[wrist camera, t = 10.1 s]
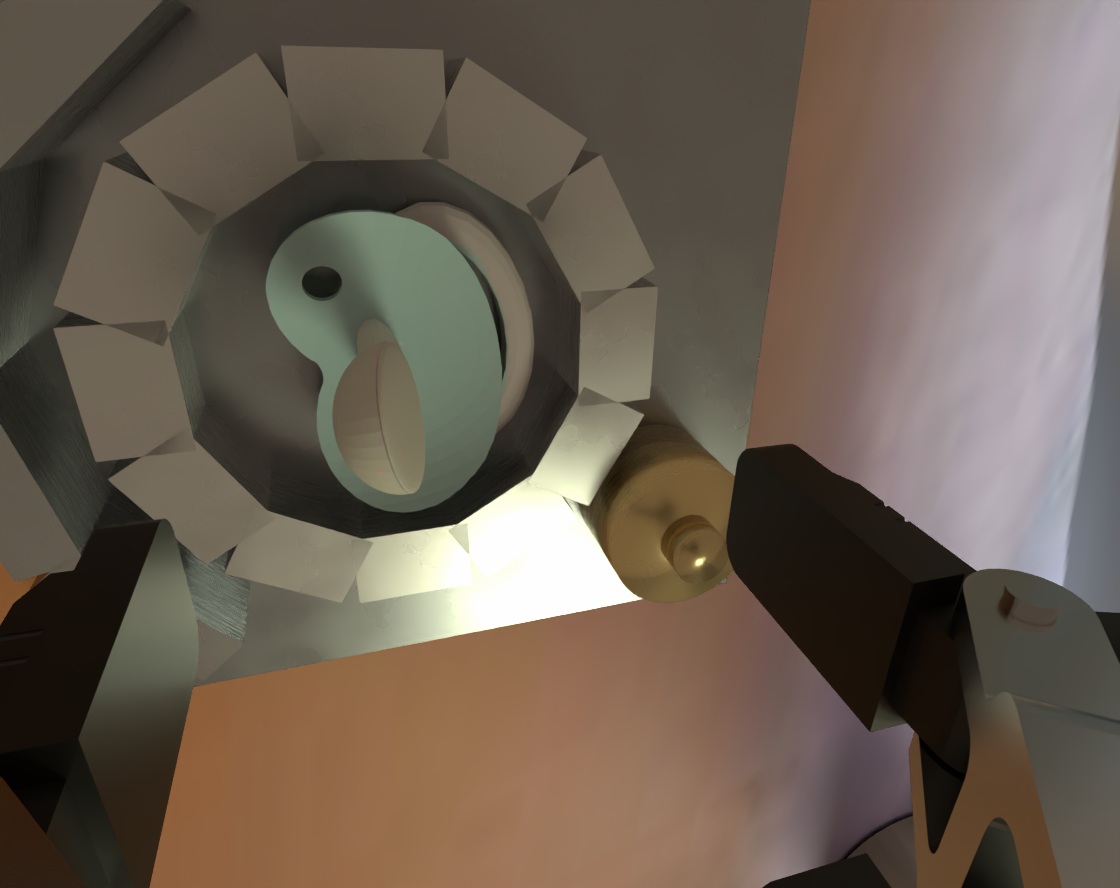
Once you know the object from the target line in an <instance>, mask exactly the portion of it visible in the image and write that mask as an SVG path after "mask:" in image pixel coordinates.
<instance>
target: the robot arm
mask: <svg viewBox="0 0 1120 888" xmlns="http://www.w3.org/2000/svg"><path fill="white" fill-rule="evenodd" d="M726 545H727V552H728V556H729V560H730V563H731V565H732V567H733V569H734V571H735V573H736V574H737V575H738V577H739V578H740V579H741V580H742V581H743V583H744V584H745V585H746V586H747V587H748V589H749V590H750V591H751V592H752V593H753V594H754V596H755V597H756V598H757V599H758V600H759V602H760V603H761V604H762V605H763V606H764V607H765V609H766V610H767V611H768V612H769V613H770V615H771V616H772V617H773V618H774V619H775V620H776V622H777V623H778V624H779V625H780V626H781V628H782V629H783V630H784V631H785V632H786V633H787V635H788V636H789V637H790V638H791V639H792V641H793V642H794V643H795V644H796V645H797V646H798V648H799V649H800V650H801V651H802V652H803V654H804V655H805V656H806V657H807V658H808V659H809V661H810V662H811V663H812V664H813V665H814V666H815V668H816V669H817V670H818V671H819V672H820V674H821V675H822V676H823V677H824V678H825V679H826V681H827V682H828V683H829V684H830V685H831V687H832V688H833V689H834V690H835V691H836V692H837V694H838V695H839V696H840V697H841V698H842V700H843V701H844V702H845V703H846V704H847V705H848V707H849V708H850V709H851V710H852V711H853V713H854V714H855V715H856V716H857V717H858V718H859V720H860V721H861V722H862V723H863V724H864V726H865V727H866V728H867V729H868V730H869V731H870V732H873V731H877V730H881V729H885V728H889V727H893V726H897V725H901V724H905V723H907V724H908V725H909V726H910V727H911V728H912V729H913V730H914V731H915V732H914V735H913V738H912V741H911V744H910V747H909V765H910V779H911V794H912V808H913V816H911V817H908V818H905V819H903V820H901V821H898V822H896V823H894V824H892V825H890V826H888V827H886V828H885V829H883V830H881V831H880V832H878V833H876V834H875V835H873V836H872V837H871V838H869V839H868V840H867V841H865V842H864V843H863V844H861V845H860V846H859V847H858V848H857V849H856V850H855V851H854V852H853V853H852V854H850V855H849V856H848V858H847V859H844V860H841V861H838V862H835V863H831V864H828V865H825V866H821V867H818V868H815V869H811V870H808V871H805V872H802V873H798V874H795V875H792V876H788V877H785V878H782V879H778V880H775V881H772V882H770V883H768V884H767V885H765V886H764V887H763V888H1120V613H1109V612H1094V610H1093V609H1092V608H1091V607H1090V606H1089V605H1088V604H1087V603H1086V602H1084V601H1083V600H1082V599H1081V598H1079V597H1078V596H1077V595H1075V594H1074V593H1072V592H1071V591H1069V590H1067V589H1065V588H1064V587H1062V586H1060V585H1058V584H1056V583H1054V582H1051V581H1049V580H1046V579H1044V578H1041V577H1038V576H1035V575H1032V574H1028V573H1024V572H1020V571H1014V570H1008V569H985V570H980V571H976V570H974V569H973V568H972V567H970V566H969V565H968V564H966V563H965V562H964V561H962V560H961V559H960V558H958V557H957V556H956V555H954V554H953V553H952V552H950V551H949V550H947V549H946V548H945V547H943V546H942V545H941V544H939V543H938V542H937V541H935V540H934V539H933V538H931V537H930V536H929V535H927V534H926V533H925V532H923V531H922V530H920V529H919V528H918V527H916V526H915V525H914V524H912V523H911V522H905V520H904V517H903V516H902V515H900V514H899V513H898V512H896V511H895V510H894V509H892V508H891V507H889V506H887V507H885V506H884V502H883V501H881V500H880V499H879V498H877V497H876V496H875V495H873V494H872V493H871V492H869V491H868V490H867V489H865V488H864V487H863V486H861V485H860V484H858V483H855V482H853V481H851V480H849V479H846V478H844V477H842V476H839V475H837V474H835V473H832V472H831V471H830V470H828V469H827V468H826V467H824V466H823V465H822V464H820V463H819V462H818V461H816V460H815V459H814V458H812V457H811V456H810V455H808V454H807V453H806V452H805V451H803V450H802V449H801V448H799V447H798V446H796V445H794V444H783V445H775V446H767V447H758V448H750V449H746V450H744V451H743V452H742V453H741V454H740V456H739V458H738V461H737V465H736V472H735V478H734V485H733V492H732V499H731V506H730V513H729V520H728V527H727V534H726ZM198 659H199V634H198V625H197V619H196V615H195V611H194V607H193V603H192V599H191V595H190V591H189V587H188V583H187V579H186V576H185V572H184V568H183V564H182V560H181V556H180V552H179V548H178V544H177V540H176V537H175V533H174V530H173V528H172V526H171V524H170V522H169V521H168V520H167V519H157V520H149V521H140V522H132V523H124V524H116V525H108V526H100V527H98V528H96V529H95V531H94V532H93V534H92V536H91V538H90V540H89V542H88V544H87V546H86V548H85V549H84V551H83V553H82V555H81V557H80V559H79V561H78V563H77V565H76V567H75V569H74V570H72V571H65V572H57V573H50V574H49V575H48V576H47V577H45V578H44V579H43V580H42V581H40V582H39V583H38V584H37V585H36V586H34V587H33V588H32V589H31V590H29V591H28V592H27V593H26V594H25V595H23V596H22V597H21V598H20V599H18V600H17V601H16V602H15V603H14V604H13V605H12V607H11V609H10V610H9V612H8V614H7V615H6V617H5V619H4V620H3V622H2V624H1V625H0V888H149V887H150V882H151V877H152V873H153V868H154V864H155V859H156V855H157V850H158V845H159V841H160V836H161V832H162V827H163V822H164V818H165V813H166V809H167V804H168V800H169V795H170V790H171V786H172V781H173V777H174V772H175V767H176V763H177V758H178V754H179V749H180V745H181V740H182V735H183V731H184V726H185V722H186V717H187V712H188V708H189V703H190V699H191V694H192V690H193V685H194V680H195V676H196V671H197V666H198Z"/></svg>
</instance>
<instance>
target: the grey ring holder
mask: <svg viewBox="0 0 1120 888" xmlns="http://www.w3.org/2000/svg"><path fill="white" fill-rule="evenodd" d="M810 3H811V0H0V561H1V563H2V564H3V566H4V567H5V568H6V570H7V571H8V573H9V574H10V576H11V577H12V579H13V580H14V582H16V581H20V580H23V579H27V578H30V577H34V576H37V575H38V576H37V578H36V579H35V581H34V583H33V585H32V587H31V589H32V588H33V587H34V586H36V585H37V584H38V583H39V582H40V581H42V580H43V579H44V578H45V577H47V576H48V575H49V574H50V573H57V572H65V571H72V570H74V569H75V567H76V565H77V563H78V561H79V559H80V557H81V555H82V553H83V551H84V549H85V548H86V546H87V544H88V542H89V540H90V538H91V536H92V534H93V532H94V531H95V529H96V528H98V527H100V526H108V525H116V524H124V523H132V522H140V521H149V520H157V519H167V520H168V521H169V522H170V524H171V526H172V528H173V530H174V533H175V537H176V540H177V544H178V548H179V552H180V556H181V560H182V564H183V568H184V572H185V576H186V579H187V583H188V587H189V591H190V595H191V599H192V603H193V607H194V611H195V615H196V619H197V625H198V634H199V659H198V666H197V671H196V676H195V680H194V685H193V687H196V686H201V685H206V684H211V683H216V682H221V681H226V680H231V679H236V678H242V677H247V676H252V675H257V674H262V673H267V672H272V671H277V670H282V669H288V668H293V667H298V666H303V665H308V664H313V663H318V662H323V661H328V660H334V659H339V658H344V657H349V656H354V655H359V654H364V653H369V652H374V651H379V650H385V649H390V648H395V647H400V646H405V645H410V644H415V643H420V642H425V641H431V640H436V639H441V638H446V637H451V636H456V635H461V634H466V633H471V632H477V631H482V630H487V629H492V628H497V627H502V626H507V625H512V624H517V623H523V622H528V621H533V620H538V619H543V618H548V617H553V616H558V615H563V614H569V613H574V612H579V611H584V610H589V609H594V608H599V607H604V606H609V605H614V604H620V603H625V602H630V601H635V600H640V599H645V600H649V601H653V602H661V603H668V602H678V601H683V600H686V599H690V598H693V597H695V596H698V595H700V594H702V593H704V592H706V591H708V590H710V589H711V588H713V587H715V586H716V585H717V584H722V583H726V581H727V576H728V575H729V574H730V573H731V572H732V571H733V570H734V569H733V567H732V565H731V563H730V560H729V556H728V552H727V545H726V534H727V527H728V520H729V513H730V506H731V499H732V492H733V485H734V478H735V472H736V465H737V461H738V458H739V456H740V454H741V453H742V452H743V451H744V450H746V444H747V437H748V430H749V423H750V416H751V409H752V402H753V395H754V389H755V382H756V375H757V368H758V361H759V354H760V347H761V340H762V334H763V327H764V320H765V313H766V306H767V299H768V292H769V285H770V278H771V272H772V265H773V258H774V251H775V244H776V237H777V230H778V223H779V217H780V210H781V203H782V196H783V189H784V182H785V175H786V168H787V161H788V155H789V148H790V141H791V134H792V127H793V120H794V113H795V106H796V100H797V93H798V86H799V79H800V72H801V65H802V58H803V51H804V44H805V38H806V31H807V24H808V17H809V10H810ZM419 202H445V203H447V204H450V205H453V206H455V207H458V208H461V209H463V210H466V211H468V212H470V213H471V214H472V215H473V216H475V217H476V218H477V219H478V220H480V221H481V222H482V223H484V224H485V225H486V226H487V227H489V228H490V229H491V230H492V232H493V233H494V234H495V235H496V237H497V238H498V239H499V241H500V242H501V243H502V244H503V246H504V247H505V248H506V250H507V251H508V252H509V254H510V256H511V258H512V260H513V262H514V264H515V266H516V268H517V270H518V272H519V274H520V276H521V278H522V280H523V283H524V286H525V290H526V294H527V297H528V301H529V305H530V308H531V312H532V322H533V332H534V354H533V365H532V373H531V376H530V380H529V383H528V386H527V390H526V393H525V396H524V399H523V400H522V402H521V404H520V406H519V407H518V409H517V411H516V412H515V414H514V416H513V418H512V419H511V420H510V421H509V422H508V423H507V424H506V425H505V426H504V427H503V428H502V429H501V430H500V431H499V432H498V433H497V434H495V437H494V441H493V443H492V445H491V447H490V449H489V452H488V454H487V457H486V459H485V461H484V462H483V463H482V465H481V466H480V467H479V469H478V470H477V471H476V473H475V474H474V475H473V476H472V477H471V478H470V479H469V480H468V481H467V483H466V484H465V485H464V486H463V487H462V488H461V489H460V490H458V491H457V492H456V493H454V494H453V495H452V496H451V497H450V498H448V499H446V500H444V501H443V502H441V503H439V504H437V505H436V506H432V507H429V508H426V509H423V510H420V511H413V512H405V513H402V512H393V511H385V510H382V509H379V508H376V507H373V506H371V505H369V504H367V503H366V502H364V501H362V500H360V499H358V498H357V497H355V496H354V495H353V494H352V493H351V492H350V491H348V490H347V489H346V488H345V487H344V486H343V485H342V484H341V483H340V482H339V480H338V479H337V478H336V476H335V475H334V474H333V472H332V471H331V469H330V467H329V465H328V463H327V461H326V459H325V456H324V454H323V452H322V450H321V445H320V441H319V437H318V433H317V406H318V398H319V394H320V390H321V387H322V385H323V373H322V371H321V368H320V367H319V365H318V364H317V363H316V362H314V361H312V360H310V359H309V358H307V357H306V356H304V355H303V354H302V353H301V352H300V351H299V350H298V349H297V348H296V347H295V346H294V345H292V344H291V343H290V341H289V340H288V339H287V338H286V336H285V335H284V334H283V333H282V331H281V330H280V329H279V327H278V325H277V323H276V321H275V319H274V318H273V316H272V314H271V311H270V307H269V303H268V299H267V294H266V279H267V274H268V270H269V267H270V264H271V261H272V259H273V257H274V255H275V254H276V252H277V250H278V249H279V247H280V245H281V244H282V243H283V242H284V241H285V240H286V239H287V238H288V237H289V236H290V235H291V234H292V233H293V232H294V231H295V230H296V229H298V228H299V227H301V226H303V225H304V224H306V223H308V222H310V221H312V220H314V219H317V218H320V217H322V216H325V215H328V214H332V213H337V212H343V211H348V210H375V211H383V212H390V213H394V214H395V213H396V212H398V211H401V210H403V209H405V208H407V207H410V206H412V205H414V204H416V203H419ZM457 250H458V249H457ZM458 251H459V250H458ZM459 252H460V253H461V254H462V255H463V257H464V258H465V260H466V261H467V263H468V264H469V266H470V267H471V269H472V270H473V272H474V273H475V275H476V277H477V279H478V281H479V283H480V285H481V287H482V289H483V291H484V293H485V296H486V298H487V300H488V303H489V307H490V310H491V313H492V316H493V320H494V324H495V328H496V332H497V336H498V342H499V349H500V356H501V344H502V337H501V329H500V320H499V315H498V312H497V308H496V305H495V302H494V298H493V295H492V293H491V291H490V289H489V287H488V285H487V283H486V281H485V279H484V277H483V275H482V274H481V272H480V271H479V270H478V268H477V267H476V266H475V265H474V263H473V262H472V261H471V259H469V258H468V257H467V256H466V255H464V254H463V253H462V252H461V251H459ZM341 283H342V279H341V277H340V275H339V273H337V272H336V271H335V270H334V269H332V268H330V267H325V266H319V267H314V268H312V269H310V270H309V271H307V272H306V273H305V275H304V276H303V278H302V285H303V287H304V289H305V291H307V292H308V293H309V294H310V295H312V296H315V297H319V298H325V297H329V296H332V295H334V294H335V293H336V292H337V291H338V290H339V288H340V287H341ZM31 589H30V590H31Z"/></svg>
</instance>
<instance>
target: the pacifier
mask: <svg viewBox="0 0 1120 888" xmlns="http://www.w3.org/2000/svg"><path fill="white" fill-rule="evenodd" d="M457 249H458V250H459V251H461V252H462V253H463V254H464V255H466V256H467V257H468V258H469V259H471V261H472V262H473V263H474V265H475V266H476V267H477V268H478V270H479V271H480V272H481V274H482V275H483V277H484V279H485V281H486V283H487V285H488V287H489V289H490V291H491V293H492V295H493V298H494V302H495V305H496V308H497V312H498V315H499V320H500V329H501V337H502V344H501V356H500V349H499V342H498V336H497V332H496V328H495V324H494V320H493V316H492V313H491V310H490V307H489V303H488V300H487V298H486V296H485V293H484V291H483V289H482V287H481V285H480V283H479V281H478V279H477V277H476V275H475V273H474V272H473V270H472V269H471V267H470V266H469V264H468V263H467V261H466V260H465V258H464V257H463V255H462V254H461V253H460V252H459V251H458V250H457ZM319 266H325V267H330V268H332V269H334V270H335V271H336V272H337V273H339V275H340V277H341V279H342V283H341V287H340V288H339V290H338V291H337V292H336V293H335V294H334V295H332V296H329V297H325V298H319V297H315V296H312V295H310V294H309V293H308V292H307V291H305V289H304V287H303V285H302V278H303V276H304V275H305V273H306V272H307V271H309V270H310V269H312V268H314V267H319ZM266 294H267V299H268V303H269V307H270V311H271V314H272V316H273V318H274V319H275V321H276V323H277V325H278V327H279V329H280V330H281V331H282V333H283V334H284V335H285V336H286V338H287V339H288V340H289V341H290V343H291V344H292V345H294V346H295V347H296V348H297V349H298V350H299V351H300V352H301V353H302V354H303V355H304V356H306V357H307V358H309V359H310V360H312V361H314V362H316V363H317V364H318V365H319V367H320V368H321V371H322V373H323V385H322V387H321V390H320V394H319V398H318V406H317V433H318V437H319V441H320V445H321V450H322V452H323V454H324V456H325V459H326V461H327V463H328V465H329V467H330V469H331V471H332V472H333V474H334V475H335V476H336V478H337V479H338V480H339V482H340V483H341V484H342V485H343V486H344V487H345V488H346V489H347V490H348V491H350V492H351V493H352V494H353V495H354V496H355V497H357V498H358V499H360V500H362V501H364V502H366V503H367V504H369V505H371V506H373V507H376V508H379V509H382V510H385V511H393V512H402V513H405V512H413V511H420V510H423V509H426V508H429V507H432V506H436V505H437V504H439V503H441V502H443V501H444V500H446V499H448V498H450V497H451V496H452V495H453V494H454V493H456V492H457V491H458V490H460V489H461V488H462V487H463V486H464V485H465V484H466V483H467V481H468V480H469V479H470V478H471V477H472V476H473V475H474V474H475V473H476V471H477V470H478V469H479V467H480V466H481V465H482V463H483V462H484V461H485V459H486V457H487V454H488V452H489V449H490V447H491V445H492V443H493V441H494V437H495V434H497V433H498V432H499V431H500V430H501V429H502V428H503V427H504V426H505V425H506V424H507V423H508V422H509V421H510V420H511V419H512V418H513V416H514V414H515V412H516V411H517V409H518V407H519V406H520V404H521V402H522V400H523V399H524V396H525V393H526V390H527V386H528V383H529V380H530V376H531V373H532V365H533V354H534V332H533V322H532V312H531V308H530V305H529V301H528V297H527V294H526V290H525V286H524V283H523V280H522V278H521V276H520V274H519V272H518V270H517V268H516V266H515V264H514V262H513V260H512V258H511V256H510V254H509V252H508V251H507V250H506V248H505V247H504V246H503V244H502V243H501V242H500V241H499V239H498V238H497V237H496V235H495V234H494V233H493V232H492V230H491V229H490V228H489V227H487V226H486V225H485V224H484V223H482V222H481V221H480V220H478V219H477V218H476V217H475V216H473V215H472V214H471V213H470V212H468V211H466V210H463V209H461V208H458V207H455V206H453V205H450V204H447V203H445V202H419V203H416V204H414V205H412V206H410V207H407V208H405V209H403V210H401V211H398V212H396V213H395V214H394V213H390V212H383V211H375V210H348V211H343V212H337V213H332V214H328V215H325V216H322V217H320V218H317V219H314V220H312V221H310V222H308V223H306V224H304V225H303V226H301V227H299V228H298V229H296V230H295V231H294V232H293V233H292V234H291V235H290V236H289V237H288V238H287V239H286V240H285V241H284V242H283V243H282V244H281V245H280V247H279V249H278V250H277V252H276V254H275V255H274V257H273V259H272V261H271V264H270V267H269V270H268V274H267V279H266Z"/></svg>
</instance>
